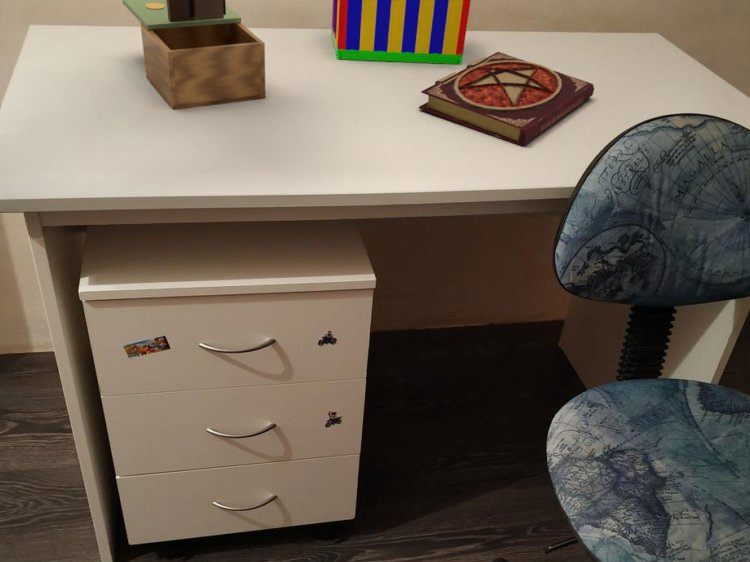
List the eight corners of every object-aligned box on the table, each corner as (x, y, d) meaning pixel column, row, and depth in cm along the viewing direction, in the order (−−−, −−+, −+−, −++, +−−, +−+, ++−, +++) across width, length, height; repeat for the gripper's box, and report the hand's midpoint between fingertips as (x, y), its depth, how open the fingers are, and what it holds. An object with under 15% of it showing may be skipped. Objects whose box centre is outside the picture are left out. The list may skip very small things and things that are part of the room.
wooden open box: (172, 109, 129) (167, 52, 123) (146, 77, 137) (140, 22, 132) (265, 98, 135) (264, 43, 130) (234, 68, 144) (232, 15, 138)
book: (523, 150, 130) (530, 120, 127) (414, 109, 137) (418, 80, 134) (590, 101, 149) (598, 75, 145) (491, 67, 156) (496, 41, 153)
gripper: (139, -161, 105) (157, 25, 121) (263, -158, 113) (265, 17, 128) (123, -171, 110) (142, 9, 125) (243, -168, 118) (248, 2, 133)
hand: (204, 13), depth 127 cm, fingers closed on block, 4 cm apart
